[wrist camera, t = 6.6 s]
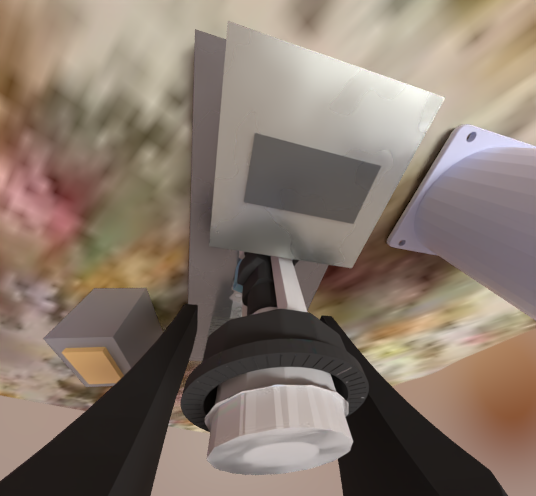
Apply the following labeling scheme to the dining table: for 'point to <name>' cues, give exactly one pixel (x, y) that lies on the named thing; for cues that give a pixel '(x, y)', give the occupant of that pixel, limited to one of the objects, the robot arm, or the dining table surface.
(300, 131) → the rail plate
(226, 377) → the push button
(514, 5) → the dining table surface
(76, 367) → the block
